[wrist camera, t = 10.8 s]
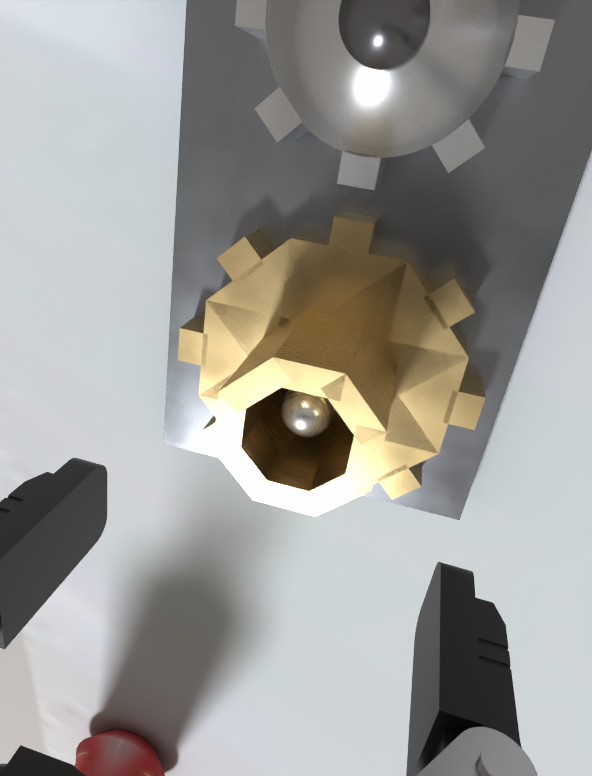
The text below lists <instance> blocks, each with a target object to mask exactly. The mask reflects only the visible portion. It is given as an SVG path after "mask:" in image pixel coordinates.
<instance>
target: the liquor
mask: <svg viewBox="0 0 592 776" xmlns="http://www.w3.org/2000/svg"><path fill="white" fill-rule="evenodd" d="M74 767H76V768H77V769H78V770H79V771H80V772H82V773H83V774H84V775H85V776H165V775H164V772H163V769H162V766H161V763H160V761H159V758H158V755H157V752H156V751H155V749H154V748H153V746H152V745H151V744H150V743H149V742H148V741H146V740H145V739H144V738H142V737H141V736H139V735H137V734H135V733H132V732H129V731H126V730H110V731H107V732H104V733H101V734H98V735H95V736H92V737H89V738H87V739H85V740H83V741H82V742H81V743H80V744H79V745H78V747H77V751H76V764H75V765H74Z"/></svg>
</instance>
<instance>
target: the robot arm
mask: <svg viewBox="0 0 592 776" xmlns="http://www.w3.org/2000/svg"><path fill="white" fill-rule="evenodd" d="M106 520H107V470H106V468H105V466H103V465H99V464H96V463H92V462H89V461H85V460H82V459H78V458H73V459H71V460H69V461H68V462H67V463H66V464H64V465H63V466H62V467H61V468H60V469H59V470H58V471H56V472H55V473H54V474H52V473H49V472H46V473H44V474H41V475H39V476H37V477H34V478H32V479H30V480H27V481H25V482H24V483H23V484H21V485H20V486H19V487H18V488H17V489H15V490H14V491H13V492H12V493H10V494H9V496H8V498H4V499H3V500H2V501H1V502H0V648H2V649H5V648H6V647H7V646H8V645H9V644H10V642H11V641H12V640H13V639H14V638H15V637H16V635H17V634H18V633H19V632H20V631H21V630H22V628H23V627H24V626H25V625H26V624H27V623H28V621H29V620H30V619H31V618H32V617H33V616H34V615H35V613H36V612H37V611H38V610H39V609H40V608H41V606H42V605H43V604H44V603H45V602H46V601H47V599H48V598H49V597H50V596H51V595H52V594H53V592H54V591H55V590H56V589H57V588H58V587H59V585H60V584H61V583H62V582H63V581H64V580H65V578H66V577H67V576H68V575H69V574H70V573H71V571H72V570H73V569H74V568H75V567H76V566H77V564H78V563H79V562H80V561H81V560H82V559H83V557H84V556H85V555H86V554H87V553H88V552H89V550H90V549H91V548H92V547H93V546H94V545H95V543H96V542H97V541H98V540H99V538H100V536H101V534H102V532H103V530H104V528H105V524H106ZM0 776H85V775H84V774H83V773H82V772H80V771H79V770H78V769H77V768H76V767H74V766H73V765H71V764H69V763H66V762H63V761H61V760H58V759H55V758H53V757H50V756H47V755H45V754H42V753H39V752H37V751H34V750H31V749H29V748H26V747H23V746H20V747H19V748H18V750H17V751H16V753H15V754H14V755H13V757H12V759H11V760H10V761H9V763H8V764H0ZM406 776H538V775H537V772H536V770H535V767H534V765H533V764H532V762H531V760H530V758H529V757H528V756H527V754H526V753H525V752H524V750H523V749H522V747H521V743H520V738H519V730H518V722H517V714H516V706H515V698H514V690H513V681H512V673H511V670H510V657H509V651H508V641H507V633H506V625H505V623H504V621H503V620H502V618H501V616H500V614H499V612H498V611H497V609H496V607H495V605H494V603H492V602H488V601H485V600H482V599H478V598H475V587H474V575H473V572H472V571H469V570H465V569H462V568H458V567H455V566H451V565H448V564H444V563H441V562H438V564H437V565H436V568H435V570H434V573H433V576H432V579H431V582H430V585H429V587H428V590H427V593H426V596H425V599H424V602H423V605H422V607H421V610H420V614H419V618H418V622H417V627H416V633H415V642H414V659H413V675H412V692H411V709H410V725H409V742H408V758H407V775H406Z"/></svg>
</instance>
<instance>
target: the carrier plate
mask: <svg viewBox="0 0 592 776" xmlns="http://www.w3.org/2000/svg"><path fill="white" fill-rule="evenodd" d="M591 150H592V0H187V6H186V25H185V44H184V63H183V82H182V101H181V120H180V139H179V159H178V178H177V197H176V216H175V235H174V254H173V273H172V292H171V311H170V330H169V350H168V369H167V388H166V407H165V426H164V444H167V445H171V446H175V447H179V448H182V449H186V450H190V451H194V452H198V453H202V454H206V455H210V456H213V457H217V458H219V457H218V456H217V455H216V453H215V452H214V451H213V445H212V444H211V442H210V441H209V440H208V439H207V437H206V436H205V435H204V434H203V432H202V430H203V429H204V427H205V426H206V425H207V423H208V422H209V421H210V419H211V418H212V417H213V416H214V414H213V413H212V412H211V411H210V409H209V408H208V407H207V406H206V404H205V403H204V402H203V400H202V399H201V398H200V397H199V383H200V370H201V365H196V364H192V363H188V362H184V361H179V360H178V347H179V331H180V327H182V326H183V325H184V324H186V323H187V322H188V321H189V320H191V319H192V318H193V317H197V318H201V319H205V309H206V300H207V299H208V298H210V297H211V296H213V295H214V294H215V293H217V292H218V291H219V290H221V289H222V288H223V287H225V286H226V285H227V284H229V283H230V282H232V281H233V280H232V279H231V278H230V276H229V275H228V274H227V272H226V271H225V269H224V268H223V267H222V265H221V264H220V263H219V261H218V260H217V258H218V257H219V256H220V255H221V254H223V253H224V252H225V251H227V250H228V249H229V248H231V247H232V246H233V245H234V244H236V243H237V242H238V241H240V240H241V239H242V238H244V237H245V236H247V235H249V234H250V233H252V232H254V231H256V230H257V231H258V233H259V234H260V236H261V237H262V238H263V240H264V241H265V243H266V244H267V246H268V247H269V248H270V250H271V251H272V252H273V251H274V250H275V249H277V248H278V247H279V246H281V245H282V244H283V243H285V242H286V241H288V240H289V239H290V238H292V237H293V236H294V235H296V234H297V233H299V232H305V233H310V234H315V235H320V236H326V237H330V236H331V230H332V225H333V219H334V216H335V215H336V214H337V213H339V212H340V211H343V212H348V213H353V214H359V215H364V216H369V217H374V218H378V221H377V226H376V231H375V235H374V240H373V245H372V246H376V247H381V248H386V249H391V250H396V251H401V252H406V253H409V254H410V255H411V257H412V258H413V260H414V262H415V263H416V265H417V266H418V268H419V269H420V271H421V273H422V274H423V276H424V277H425V279H426V280H427V282H428V284H429V283H431V282H433V281H434V280H436V279H438V278H439V277H441V276H443V275H444V274H446V273H447V272H449V271H451V270H452V269H453V270H454V272H455V273H456V275H457V277H458V278H459V280H460V281H461V283H462V285H463V286H464V288H465V290H466V291H467V293H468V294H469V296H470V298H471V299H472V301H473V305H474V310H475V313H473V314H471V315H469V316H468V317H466V318H464V319H462V320H461V321H459V322H457V323H455V324H454V325H455V326H456V328H457V329H458V331H459V333H460V334H461V336H462V337H463V339H464V340H465V342H466V344H467V349H468V355H469V359H468V362H467V366H466V369H465V372H464V375H463V377H464V378H469V379H473V380H478V381H482V382H483V387H484V392H485V397H486V398H485V401H484V404H483V407H482V410H481V413H480V416H479V419H478V422H477V425H476V428H475V430H472V429H467V428H463V427H459V426H455V425H450V424H448V426H447V429H446V432H445V436H444V439H443V442H442V445H441V448H440V452H439V454H437V455H435V456H433V457H431V458H429V459H427V460H425V461H423V462H420V465H421V466H422V486H421V487H420V488H417V489H415V490H413V491H411V492H409V493H406V494H404V495H402V496H400V497H397V498H395V499H393V500H392V499H391V498H390V497H389V495H388V494H387V492H386V491H385V490H384V488H383V487H382V486H381V484H380V483H379V482H378V483H375V484H373V487H372V491H370V492H368V493H366V494H364V496H368V497H372V498H376V499H380V500H384V501H387V502H391V503H395V504H399V505H403V506H407V507H411V508H415V509H418V510H422V511H426V512H430V513H434V514H438V515H442V516H446V517H449V518H453V519H457V520H460V517H461V514H462V511H463V508H464V506H465V503H466V500H467V497H468V494H469V492H470V489H471V486H472V483H473V480H474V478H475V475H476V472H477V469H478V466H479V464H480V461H481V458H482V455H483V452H484V450H485V447H486V444H487V441H488V438H489V436H490V433H491V430H492V427H493V424H494V422H495V419H496V416H497V413H498V410H499V408H500V405H501V402H502V399H503V396H504V394H505V391H506V388H507V385H508V382H509V380H510V377H511V374H512V371H513V368H514V366H515V363H516V360H517V357H518V354H519V352H520V349H521V346H522V343H523V340H524V338H525V335H526V332H527V329H528V326H529V324H530V321H531V318H532V315H533V312H534V310H535V307H536V304H537V301H538V298H539V296H540V293H541V290H542V287H543V284H544V282H545V279H546V276H547V273H548V270H549V268H550V265H551V262H552V259H553V256H554V254H555V251H556V248H557V245H558V242H559V240H560V237H561V234H562V231H563V228H564V226H565V223H566V220H567V217H568V214H569V212H570V209H571V206H572V203H573V200H574V198H575V195H576V192H577V189H578V186H579V184H580V181H581V178H582V175H583V172H584V170H585V167H586V164H587V161H588V158H589V156H590V153H591ZM335 410H336V409H335V408H334V407H333V405H332V404H331V402H330V401H329V400H328V398H324V397H319V396H315V395H311V394H307V393H303V392H298V391H294V390H290V389H289V390H288V392H287V393H286V395H285V397H284V399H283V401H282V404H281V417H282V420H283V422H284V424H285V426H286V427H287V428H288V429H289V430H290V431H291V432H292V433H294V434H296V435H298V436H302V437H313V436H317V435H319V434H321V433H322V432H324V431H325V430H326V429H327V428H328V427H329V425H330V423H331V421H332V419H333V416H334V413H335Z"/></svg>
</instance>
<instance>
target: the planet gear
mask: <svg viewBox="0 0 592 776" xmlns="http://www.w3.org/2000/svg"><path fill="white" fill-rule="evenodd" d="M377 221H378V218H374V217H369V216H364V215H359V214H353V213H348V212H343V211H340V212H339V213H337V214H336V215H335V216H334V219H333V225H332V230H331V236H330V237H326V236H320V235H315V234H310V233H305V232H299V233H297V234H296V235H294V236H293V237H292V238H290V239H289V240H288V241H286V242H285V243H283V244H282V245H281V246H279V247H278V248H277V249H275V250H274V251H273V252H272V251H271V250H270V248H269V247H268V246H267V244H266V243H265V241H264V240H263V238H262V237H261V236H260V234H259V233H258V231H257V230H256V231H254V232H252V233H250V234H249V235H247V236H245V237H244V238H242V239H241V240H240V241H238V242H237V243H236V244H234V245H233V246H232V247H231V248H229V249H228V250H227V251H225V252H224V253H223V254H221V255H220V256H219V257H218V258H217V260H218V261H219V263H220V264H221V265H222V267H223V268H224V269H225V271H226V272H227V274H228V275H229V276H230V278H231V279H232V280H233V281H232V282H230V283H229V284H227V285H226V286H225V287H223V288H222V289H221V290H219V291H218V292H217V293H215V294H214V295H213V296H211V297H210V298H208V299H207V300H206V309H205V319H201V318H197V317H193V318H192V319H191V320H189V321H188V322H187V323H186V324H184V325H183V326H182V327H180V331H179V347H178V360H179V361H184V362H188V363H192V364H196V365H201V370H200V383H199V397H200V398H201V399H202V400H203V402H204V403H205V404H206V406H207V407H208V408H209V409H210V411H211V412H212V413H213V414H214V416H213V417H212V418H211V419H210V421H209V422H208V423H207V425H206V426H205V427H204V429H203V430H202V432H203V434H204V435H205V436H206V437H207V439H208V440H209V441H210V442H211V444H212V445H213V451H214V452H215V453H216V455H217V456H218V457H219V458H220V460H221V461H222V462H223V463H224V465H225V466H226V467H227V468H228V470H229V471H230V472H231V473H232V475H233V476H234V477H235V478H236V480H237V481H238V482H239V483H240V485H241V486H242V487H243V488H244V490H245V491H246V492H247V493H248V495H249V496H250V497H251V498H252V500H255V501H259V502H263V503H266V504H270V505H274V506H278V507H281V508H285V509H289V510H293V511H296V512H300V513H304V514H308V515H311V516H315V517H316V516H318V515H320V514H323V513H325V512H327V511H329V510H331V509H333V508H336V507H338V506H340V505H342V504H344V503H346V502H349V501H351V500H353V499H355V498H357V497H359V496H362V495H364V494H366V493H368V492H370V491H372V487H373V484H375V483H378V482H379V483H380V484H381V486H382V487H383V488H384V490H385V491H386V492H387V494H388V495H389V497H390V498H391V499H392V500H393V499H395V498H397V497H400V496H402V495H404V494H406V493H409V492H411V491H413V490H415V489H417V488H420V487H421V486H422V466H421V465H420V462H423V461H425V460H427V459H429V458H431V457H433V456H435V455H437V454H439V452H440V448H441V445H442V442H443V439H444V436H445V432H446V429H447V426H448V424H450V425H455V426H459V427H463V428H467V429H472V430H475V428H476V425H477V422H478V419H479V416H480V413H481V410H482V407H483V404H484V401H485V398H486V397H485V392H484V387H483V382H482V381H478V380H473V379H469V378H464V377H463V375H464V372H465V369H466V366H467V362H468V359H469V355H468V349H467V344H466V342H465V340H464V339H463V337H462V336H461V334H460V333H459V331H458V329H457V328H456V326H455V325H454V324H455V323H457V322H459V321H461V320H462V319H464V318H466V317H468V316H469V315H471V314H473V313H475V310H474V305H473V301H472V299H471V298H470V296H469V294H468V293H467V291H466V290H465V288H464V286H463V285H462V283H461V281H460V280H459V278H458V277H457V275H456V273H455V272H454V270H453V269H452V270H451V271H449V272H447V273H446V274H444V275H443V276H441V277H439V278H438V279H436V280H434V281H433V282H431V283H429V284H428V282H427V280H426V279H425V277H424V276H423V274H422V273H421V271H420V269H419V268H418V266H417V265H416V263H415V262H414V260H413V258H412V257H411V255H410V254H409V253H406V252H401V251H396V250H391V249H386V248H381V247H376V246H372V245H373V240H374V235H375V231H376V226H377ZM289 389H290V390H294V391H298V392H303V393H307V394H311V395H315V396H319V397H324V398H328V400H329V401H330V402H331V404H332V405H333V407H334V408H335V409H336V410H335V413H334V416H333V419H332V421H331V423H330V425H329V427H328V428H327V429H326V430H325V431H324V432H322V433H321V434H319V435H317V436H313V437H302V436H298V435H296V434H294V433H292V432H291V431H290V430H289V429H288V428H287V427H286V426H285V424H284V422H283V420H282V417H281V404H282V401H283V399H284V397H285V395H286V393H287V392H288V390H289Z"/></svg>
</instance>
